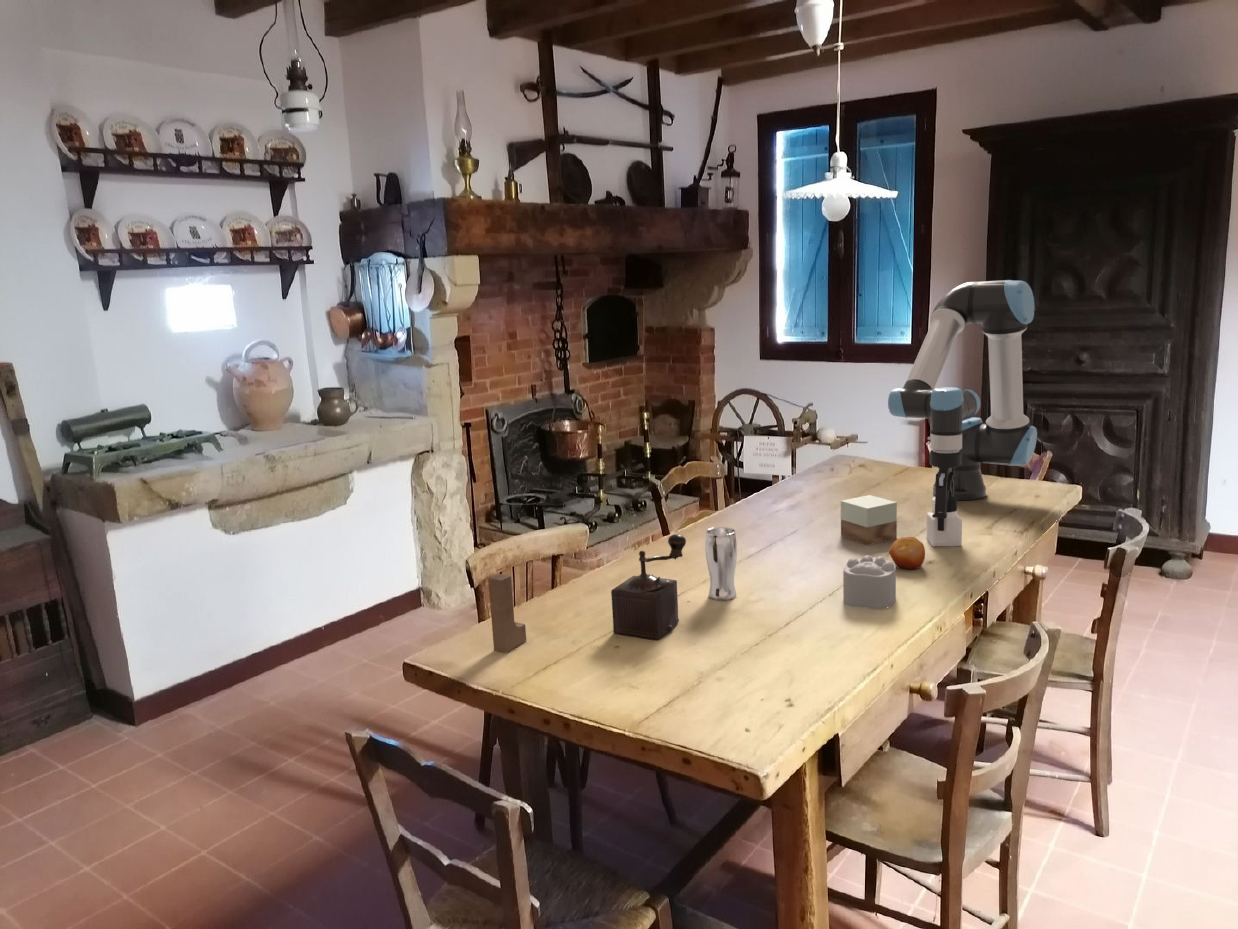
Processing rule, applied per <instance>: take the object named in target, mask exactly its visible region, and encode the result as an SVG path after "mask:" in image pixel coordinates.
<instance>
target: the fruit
mask: <svg viewBox="0 0 1238 929" xmlns="http://www.w3.org/2000/svg"><path fill="white" fill-rule="evenodd" d="M888 553H889V555H890V558H891V560H892V561H893V564H894V565H895V566H896V568H898V569H904V570H911V569H912V570H918V569H920V567H922V565H923V563H924V561H925V558H926V550H925V546H924V543H923V542H921V541H920V540H919V538H916V537H914V536H907V537H906V536H905V537H904V536H903V537H901V538H896V539H895V540H894V541H893V542H892V543H891V545H890V547H889V549H888Z"/></svg>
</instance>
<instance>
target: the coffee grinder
mask: <svg viewBox="0 0 1238 929" xmlns="http://www.w3.org/2000/svg"><path fill="white" fill-rule="evenodd" d="M686 542H687V540H686V537H684V535H682V534H671V535H670V536H668V539H667V543H668V545H669V547H670V553H669V555H657V556H655V555H654V556H650V557H646V552H645V550H639V552H638V555H639V558H638V561H639V562H640V574H638V575H633V576H631V577H629V578H628V579H626V580H625V581H622V582H621V583H620V584H619V585H617V586H615V587H614V588H612V589H611V591H610V592H611V593H610V594H611V608H612V609H611V610H612V611H611V612H612V625H613V626H612V630H613V634H615V635H620V636H626V637H631V638H633V637H634V638H638V639H645V640H651V641H659V640H660V639H662V638H664V637H665V636H666V635H667V634H669V633H670V632H672V631H673V629H674V628H675V627H676V626H677V625H678V624H679V622H680V619H679V605H678V604H679V603H678V602H679V601H678V581H677V580H676V579H669V578H662V577H660V576H658V577H657V576H655V575H654V574H648V573H646V563H650V562H654V561H667V560H673V559H674V560H676V559H678V558H682V557H683V549H684V548H685V546H686Z"/></svg>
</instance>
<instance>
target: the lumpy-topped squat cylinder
mask: <svg viewBox="0 0 1238 929" xmlns="http://www.w3.org/2000/svg"><path fill="white" fill-rule="evenodd" d="M842 574H843V582H842V584H843V585H842V586H843V588H842V589H843V592H842V595H843V596H842V597H843V599H842V600H843V601H842V602H843V604H844V605H846V606H848V607H854V608H865V609H870V610H871V609H872V610H885V609H884V608H886V609H888V608H887V607H889V608H891V607H892V606H893V604H894V603H895V602H896V596H897V595H896V594H897V593H896V592H897V585H896V583H897V566H896V564H895V563H894V562H892V561H890V560H888V559H885V557H884V556H881V555H880V556H879V555H878V556H877V557H875V556H874V557H873V556H872V555H868V554H866V555H864V556H862V557H861V558H855V557H851V558H849V559H848V561H847V562H846V565H844V568H843V573H842ZM894 601H895V602H894ZM891 605H892V606H891Z"/></svg>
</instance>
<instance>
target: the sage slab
mask: <svg viewBox="0 0 1238 929" xmlns="http://www.w3.org/2000/svg"><path fill="white" fill-rule="evenodd" d="M897 507H898V504H897V501H894V500H889V499H886V498H883V497H878V496H874V495H873V494H872V495H871V494H868V495H863V496H858V497H854V498H852V497H851V498H848V499H843V500H840V520H841V519H842V520H845V521H848V522H851V523H854V524H858V525H861V526H864V527H872V526H876V525H881V524H885V523H889V522H894V521H897V520H898V519H897V516H898V515H897V514H898V512H897V511H898V509H897Z"/></svg>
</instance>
